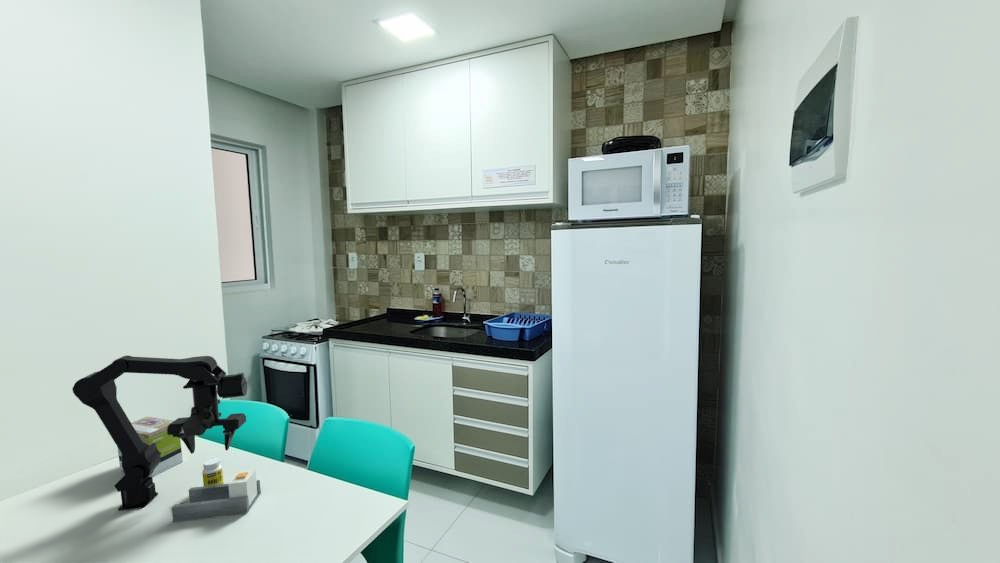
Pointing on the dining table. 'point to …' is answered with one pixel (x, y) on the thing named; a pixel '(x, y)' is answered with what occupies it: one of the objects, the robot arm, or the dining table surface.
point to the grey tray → (212, 503)
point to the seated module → (243, 485)
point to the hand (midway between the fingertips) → (210, 451)
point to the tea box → (158, 442)
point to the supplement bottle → (212, 472)
